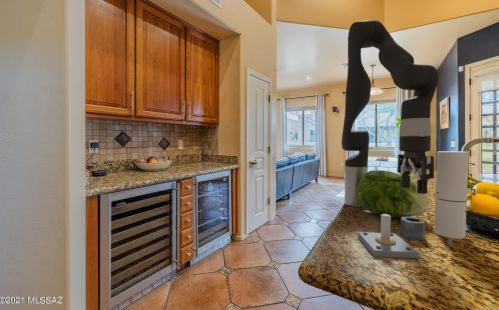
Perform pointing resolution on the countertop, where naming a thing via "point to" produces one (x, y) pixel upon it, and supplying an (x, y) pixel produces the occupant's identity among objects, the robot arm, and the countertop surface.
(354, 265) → the countertop surface
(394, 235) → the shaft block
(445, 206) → the cylindrical container
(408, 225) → the collar
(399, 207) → the lettuce
